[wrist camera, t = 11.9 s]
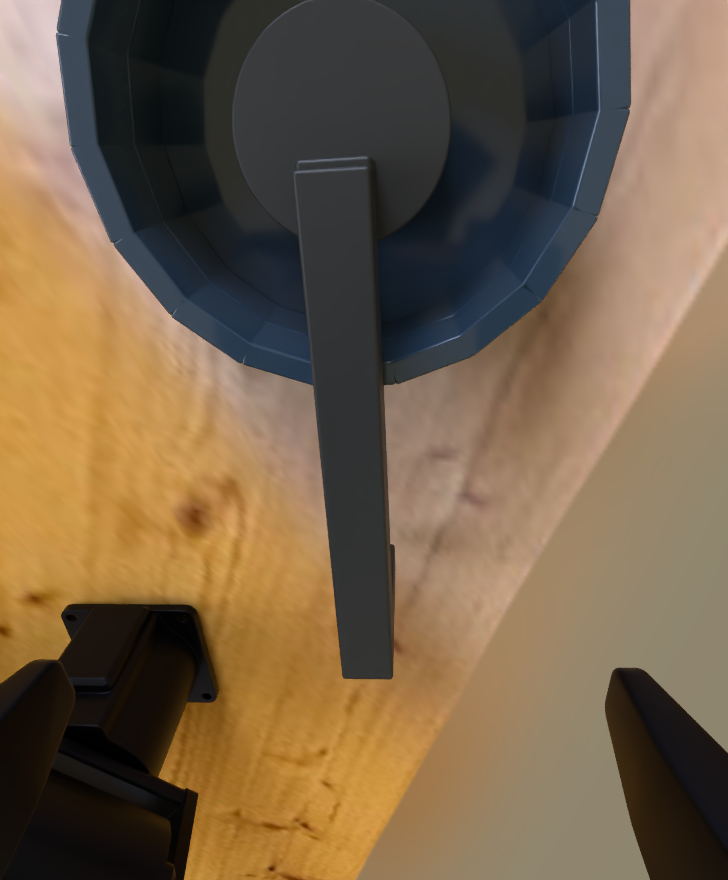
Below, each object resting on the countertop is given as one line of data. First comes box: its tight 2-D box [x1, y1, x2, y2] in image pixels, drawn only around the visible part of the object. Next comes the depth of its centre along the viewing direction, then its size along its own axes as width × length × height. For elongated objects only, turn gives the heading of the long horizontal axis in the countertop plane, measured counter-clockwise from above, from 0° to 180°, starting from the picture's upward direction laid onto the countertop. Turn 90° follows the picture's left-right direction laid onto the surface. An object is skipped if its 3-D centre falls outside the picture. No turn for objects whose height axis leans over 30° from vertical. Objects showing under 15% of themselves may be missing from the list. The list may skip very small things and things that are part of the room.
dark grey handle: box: [232, 0, 452, 679], centre depth 16 cm, size 18×5×6 cm, turn 3°
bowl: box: [56, 0, 631, 385], centre depth 14 cm, size 12×13×4 cm
